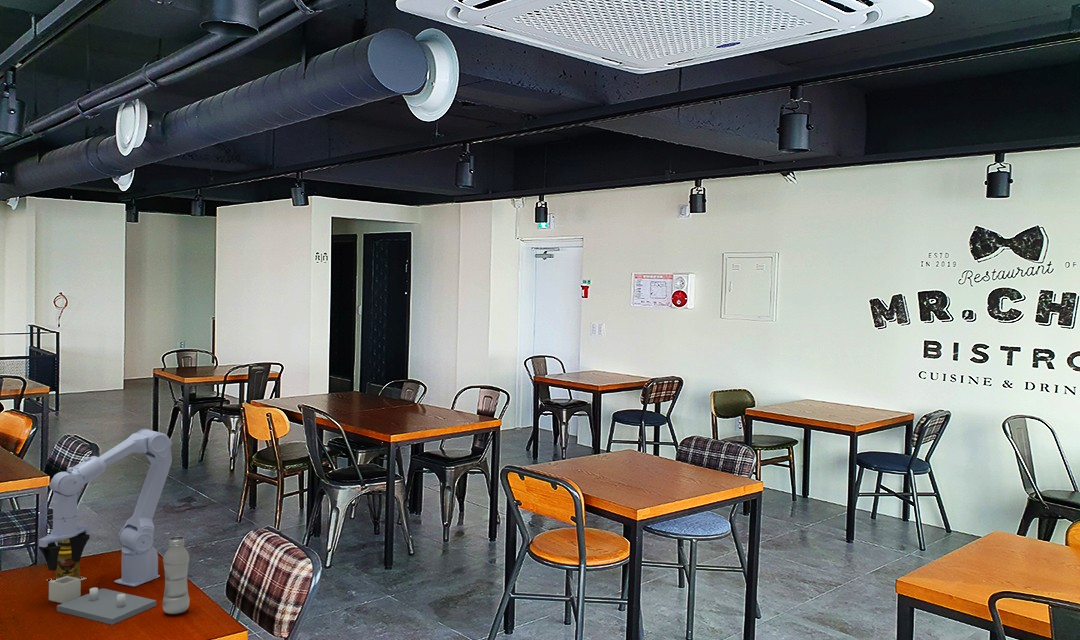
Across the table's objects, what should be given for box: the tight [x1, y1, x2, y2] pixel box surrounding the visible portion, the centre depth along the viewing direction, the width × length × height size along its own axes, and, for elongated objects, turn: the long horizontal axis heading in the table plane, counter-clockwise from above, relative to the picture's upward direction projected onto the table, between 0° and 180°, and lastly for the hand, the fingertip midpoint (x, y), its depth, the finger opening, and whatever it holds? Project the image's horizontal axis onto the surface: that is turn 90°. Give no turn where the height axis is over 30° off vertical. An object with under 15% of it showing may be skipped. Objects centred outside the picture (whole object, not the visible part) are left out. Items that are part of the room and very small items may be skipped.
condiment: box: [46, 538, 87, 582], centre depth 240 cm, size 7×8×12 cm
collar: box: [48, 576, 82, 604], centre depth 226 cm, size 5×5×5 cm
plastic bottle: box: [161, 536, 191, 615], centre depth 219 cm, size 6×7×20 cm
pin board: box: [56, 587, 157, 626], centre depth 220 cm, size 14×20×4 cm
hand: (64, 565), depth 225 cm, fingers open, 7 cm apart
